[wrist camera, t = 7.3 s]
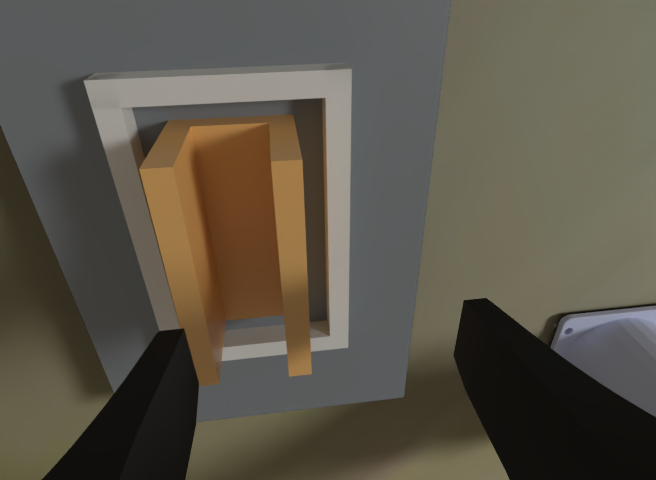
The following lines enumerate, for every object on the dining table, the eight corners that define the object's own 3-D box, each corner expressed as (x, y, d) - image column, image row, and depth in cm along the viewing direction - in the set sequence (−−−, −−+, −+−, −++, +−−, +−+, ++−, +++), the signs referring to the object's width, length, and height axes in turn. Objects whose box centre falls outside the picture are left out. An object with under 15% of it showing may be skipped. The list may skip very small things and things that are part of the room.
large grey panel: (390, 354, 26) (409, 413, 22) (143, 381, 24) (124, 448, 21) (425, -57, 15) (472, -64, 12) (-13, -52, 14) (-104, -57, 10)
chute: (303, 300, 19) (311, 374, 15) (207, 309, 18) (195, 386, 15) (292, 114, 14) (302, 159, 11) (168, 120, 14) (139, 169, 11)
